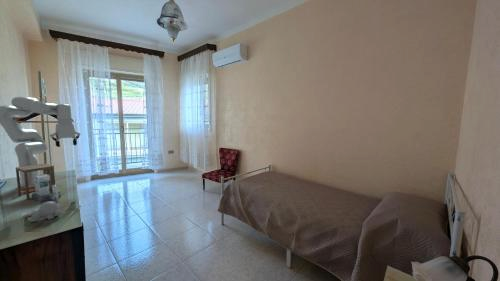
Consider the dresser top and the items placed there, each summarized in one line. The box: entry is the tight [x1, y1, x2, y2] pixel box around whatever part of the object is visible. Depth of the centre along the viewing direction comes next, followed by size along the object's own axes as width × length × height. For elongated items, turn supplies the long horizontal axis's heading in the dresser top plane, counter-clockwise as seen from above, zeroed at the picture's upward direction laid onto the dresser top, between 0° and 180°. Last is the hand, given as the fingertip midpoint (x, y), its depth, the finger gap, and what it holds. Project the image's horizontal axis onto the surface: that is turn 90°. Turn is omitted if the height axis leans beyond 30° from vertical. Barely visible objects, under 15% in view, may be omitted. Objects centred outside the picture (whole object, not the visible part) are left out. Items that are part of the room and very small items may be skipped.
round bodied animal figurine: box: [27, 200, 62, 223], centre depth 108 cm, size 7×12×8 cm, turn 127°
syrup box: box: [34, 174, 51, 196], centre depth 135 cm, size 6×6×14 cm
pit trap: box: [16, 186, 36, 195], centre depth 147 cm, size 10×10×2 cm
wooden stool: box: [15, 162, 56, 200], centre depth 140 cm, size 14×14×18 cm
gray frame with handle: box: [31, 183, 62, 203], centre depth 133 cm, size 19×10×10 cm, turn 62°
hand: (66, 145), depth 152 cm, fingers open, 9 cm apart
